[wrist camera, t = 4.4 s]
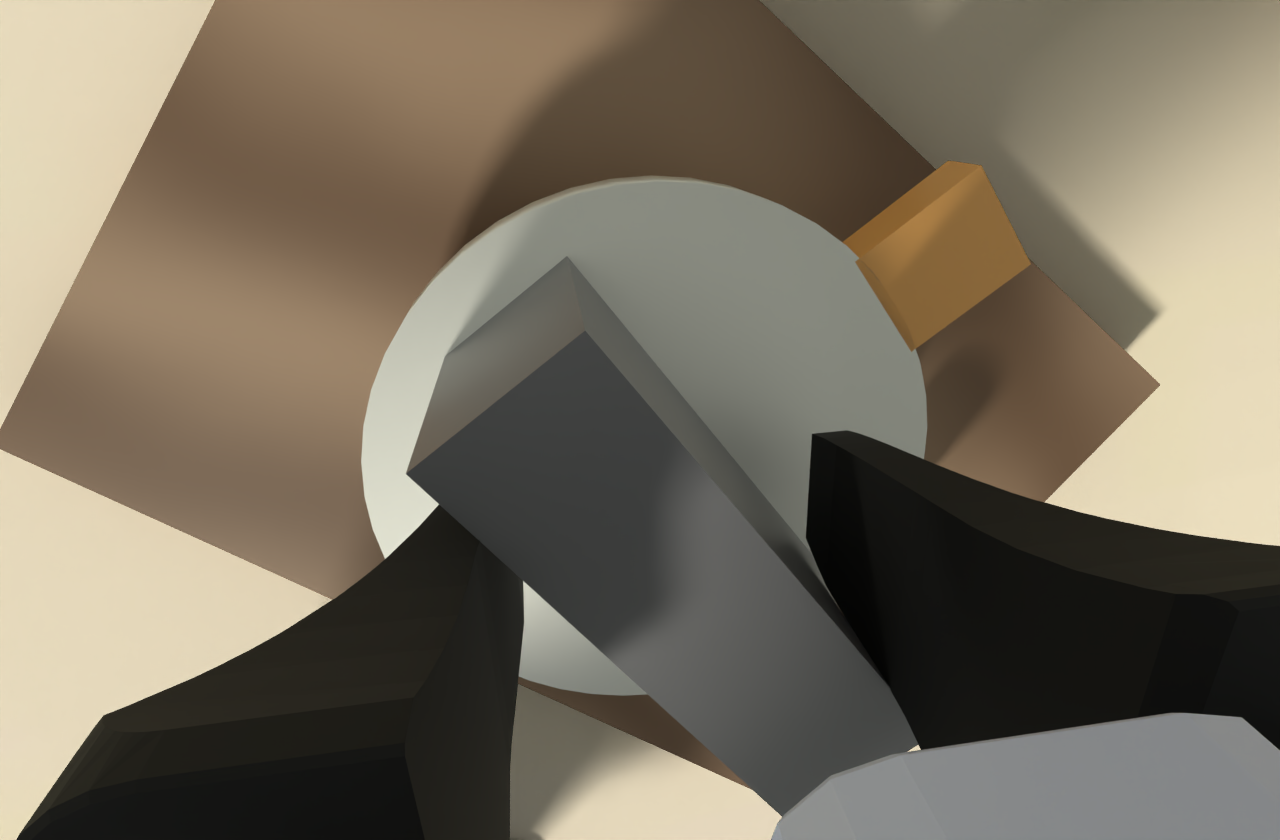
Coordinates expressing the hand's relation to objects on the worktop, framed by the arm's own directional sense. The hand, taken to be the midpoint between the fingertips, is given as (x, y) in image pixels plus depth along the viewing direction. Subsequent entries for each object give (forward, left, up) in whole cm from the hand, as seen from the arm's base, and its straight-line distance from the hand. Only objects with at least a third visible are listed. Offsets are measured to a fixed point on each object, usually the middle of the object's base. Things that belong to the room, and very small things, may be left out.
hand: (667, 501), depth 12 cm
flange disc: (+1, 0, -2) cm, 2 cm away
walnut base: (0, 0, -5) cm, 5 cm away
